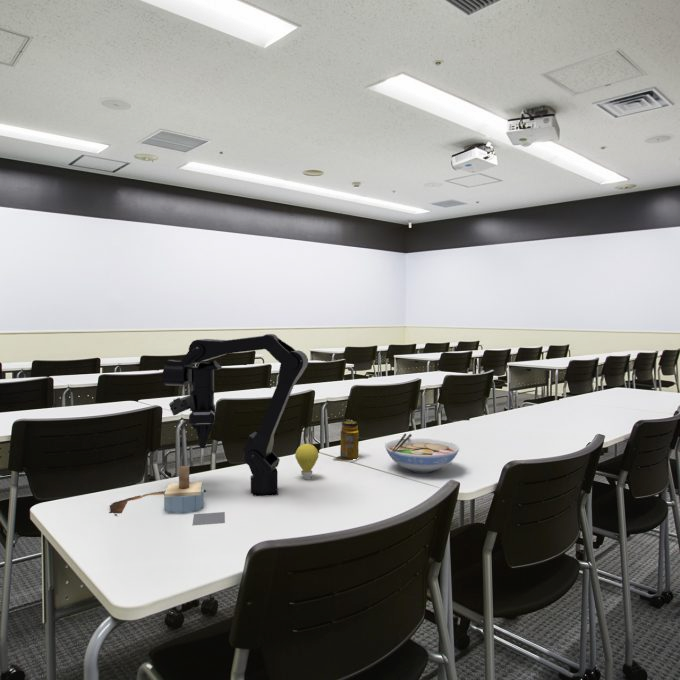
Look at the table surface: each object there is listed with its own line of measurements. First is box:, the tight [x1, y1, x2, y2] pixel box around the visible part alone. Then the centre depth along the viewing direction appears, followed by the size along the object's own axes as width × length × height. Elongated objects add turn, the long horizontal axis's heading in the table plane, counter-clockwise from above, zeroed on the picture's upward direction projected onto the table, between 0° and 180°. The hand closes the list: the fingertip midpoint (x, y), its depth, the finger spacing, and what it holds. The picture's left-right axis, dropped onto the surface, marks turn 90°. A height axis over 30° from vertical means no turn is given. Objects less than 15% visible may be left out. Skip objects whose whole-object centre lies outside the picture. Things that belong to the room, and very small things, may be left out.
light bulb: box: [294, 443, 319, 480], centre depth 157 cm, size 7×7×10 cm
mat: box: [191, 511, 226, 526], centre depth 123 cm, size 7×7×1 cm
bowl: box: [163, 487, 205, 515], centre depth 131 cm, size 9×9×4 cm
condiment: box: [333, 420, 363, 463], centre depth 180 cm, size 7×8×12 cm
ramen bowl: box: [384, 433, 460, 474], centre depth 167 cm, size 25×23×8 cm
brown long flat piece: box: [108, 489, 207, 517], centre depth 137 cm, size 25×10×1 cm, turn 130°
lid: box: [165, 465, 203, 497], centre depth 131 cm, size 8×8×6 cm
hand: (203, 444), depth 145 cm, fingers open, 9 cm apart
